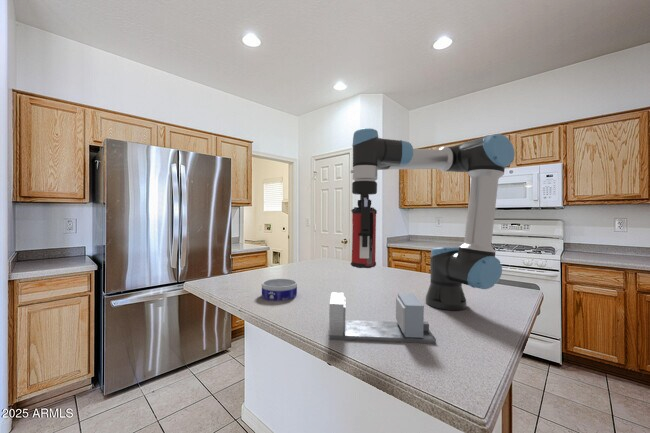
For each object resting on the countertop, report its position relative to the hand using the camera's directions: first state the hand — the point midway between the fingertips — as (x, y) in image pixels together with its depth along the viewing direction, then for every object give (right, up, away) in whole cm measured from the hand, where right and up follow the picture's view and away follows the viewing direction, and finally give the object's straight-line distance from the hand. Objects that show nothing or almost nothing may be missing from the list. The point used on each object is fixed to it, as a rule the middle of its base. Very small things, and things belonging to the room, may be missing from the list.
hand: (363, 256), depth 87 cm
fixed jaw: (-8, -22, +1) cm, 23 cm away
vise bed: (+5, -23, 0) cm, 24 cm away
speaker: (0, -3, 0) cm, 3 cm away
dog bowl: (-32, -23, +37) cm, 54 cm away
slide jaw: (+15, -22, -1) cm, 27 cm away
